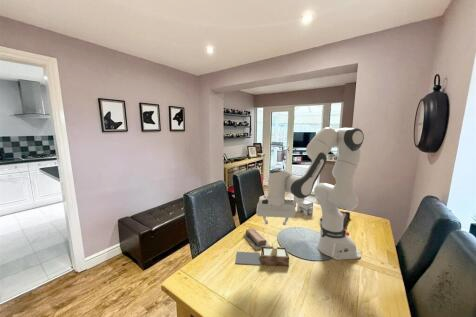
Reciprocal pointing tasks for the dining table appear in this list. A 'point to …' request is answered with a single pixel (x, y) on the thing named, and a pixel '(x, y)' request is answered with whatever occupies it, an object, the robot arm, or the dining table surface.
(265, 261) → the box
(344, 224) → the book
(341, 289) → the dining table surface
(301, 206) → the toy llama
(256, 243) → the packaged product
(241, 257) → the mat
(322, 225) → the robot arm
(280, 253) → the lid
